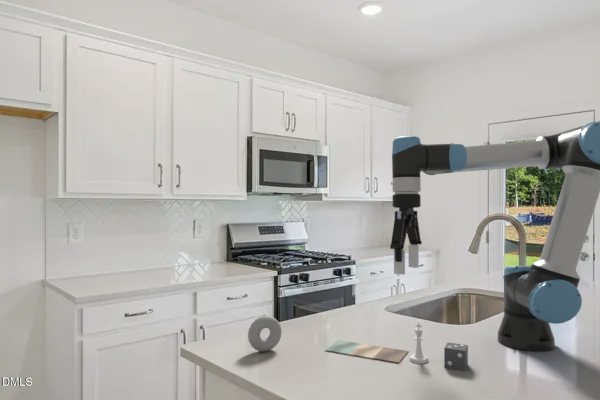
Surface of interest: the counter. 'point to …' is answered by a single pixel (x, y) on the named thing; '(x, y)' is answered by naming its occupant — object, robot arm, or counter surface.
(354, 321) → the counter surface
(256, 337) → the donut
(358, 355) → the track
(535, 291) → the robot arm
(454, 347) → the die
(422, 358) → the chess piece
